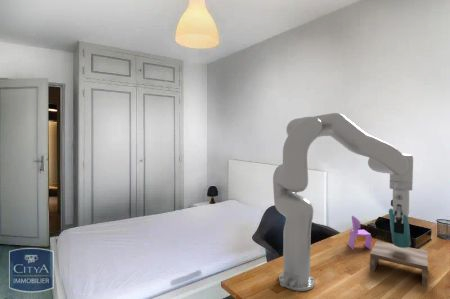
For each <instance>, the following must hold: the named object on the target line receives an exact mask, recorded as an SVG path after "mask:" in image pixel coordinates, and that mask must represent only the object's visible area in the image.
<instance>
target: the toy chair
mask: <svg viewBox="0 0 450 299" xmlns="http://www.w3.org/2000/svg"><path fill="white" fill-rule="evenodd" d="M351 222H352V229H350V233H349V240H348V242H347V246H348V247H350V248H351V249H352V250H354V249H355V243H356V239H357V238H358V237H365V241H364V244H363V245H364V246H365V247H366V248H367V249H369V250H371V251H372V240H373V238H372V234H371V233H370V232H368V231H367V230H365V229H361V228H362V226H361V221H360V220H359V219H358V217H356V216H355V215H352V216H351Z"/></svg>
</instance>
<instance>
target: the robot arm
mask: <svg viewBox="0 0 450 299" xmlns="http://www.w3.org/2000/svg"><path fill="white" fill-rule="evenodd" d="M286 135H287V137H286V139H285V142H284V144H283V148H282V163H281V164H279V165H278V166H277V167H276V168H275V170H274V172H273V175H272V176H273V177H272V183H273V184H272V185H273V200H274V206H275V209H276V211H277V212H278V213H280V215H283V217H285V223H284V225H283V226H284V227H283V234H282V235H283V244H282V245H283V246H282V247H283V249H282V250H283V252H282V257H283V260H282V266H283V267H282V272H281V273H280V274H279V275H278V280H279V285H280V286H281V287H285V288H286V289H289V290H292V291H295V292H296V291H298V292H304V291H310V290H311V289H313V288H314V287H315V279H314V277H313V276H312V275H311V249H312V248H311V240H312V238H311V236H312V235H311V233H312V224H313V219H314V207H313V204H312V203H311V201H310V200H308V199H307V198H306V197H304V196H302V195H300V194H298V193H302V192H304V191H305V190H306V189H307V188H308V185H309V172H308V171H309V170H308V169H309V168H308V152H309V150H310V149H309V148H310V146H311V145H312V143H313V142H314V141H315V140H317V139H318V138H321V137H331V138H333V139H334V140H335V141H336V142H338V143H339V144H340V145H341V146H343V147H344V148H346V149H347V150H348V151H349V152H352V153H354V154H356V155H358V156H363V157H367V158H368V160H367V165H368V167H369V168H370V170H372V171H374V172H377V173H381V174H388V175H389V189H390V190H392V200H393V214H394V215H395V214H396V213H395V211H396V212H397V216H395V222H394V232H395V233H400V234H404V223H403V218H404V215H405V216H406V217H407V216H408V217H409V213H410V191H413V180H414V179H413V177H414V157H413V155H412V154H408V153H402V152H401V151H399V150H398V149H397V148H396V147H395V146H394V145H391V144H390V143H388V142H386V141H383V140H381V139H379V138H377V137H374V136H373V135H370V134H368V133H367V132H365V131H364V130H363V129H361V127H359V126H358V125H356V124H355V122H353V121H351V120H350V119H349V118H348V117H346V116H345V115H344V114H342V113H338V112H332V113H326V114H321V115H315V116H314V115H313V116H304V117H299V118H294V119H292V120H290V121H289V122H288V123H287V126H286ZM397 204H398V205H397ZM402 212H403V215H401V213H402ZM401 217H402V218H401Z"/></svg>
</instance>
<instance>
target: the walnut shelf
mask: <svg viewBox="0 0 450 299" xmlns="http://www.w3.org/2000/svg"><path fill="white" fill-rule="evenodd" d="M428 253H429V251H428V250H424V249H419V248H414V247H411V246H409V247H407V248H400V247H397V246H395V245H394V244H393V243H390V242H389V243H388V242H384V241H379V240H376V241H375V243H374V245H373V247H372V248H371V251H370V253H369V254H370V255H369V256H370V257H369V271H370V272H374V273H375V271H376V269H377V266H378V264H379V261H380V260H381V261H385V262H389V263H392V264H398V265H402V266H406V267H411V268H413V269H414V268H415V269H419V270H421V272H422V273H421V284H422V286H425V287H428V277H429V276H428V273H429V272H428V271H429V270H428V269H429V267H428V266H429V264H428V262H429V259H428V258H429V254H428Z"/></svg>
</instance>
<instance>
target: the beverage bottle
mask: <svg viewBox="0 0 450 299" xmlns="http://www.w3.org/2000/svg"><path fill="white" fill-rule="evenodd" d="M397 205H398V204H397ZM390 206H391V208H389V209H388V216H389V226H390V233H391V234H390V236H391V242H392V244H394V245H395V246H397V247H400V248H407V247H411V245H412V241H411V233H410V232H411V230H410V229H411V228H410V223H409V215H408V216H407V217H406V216H405V215H404V218H403V223H404V234H400V233H395V232H394V222H395V216H397V212H396V211H395V213H396V214H395V215H394V214H393V199H391V200H390ZM401 215H403V212H402V213H401ZM401 218H402V217H401Z"/></svg>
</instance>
